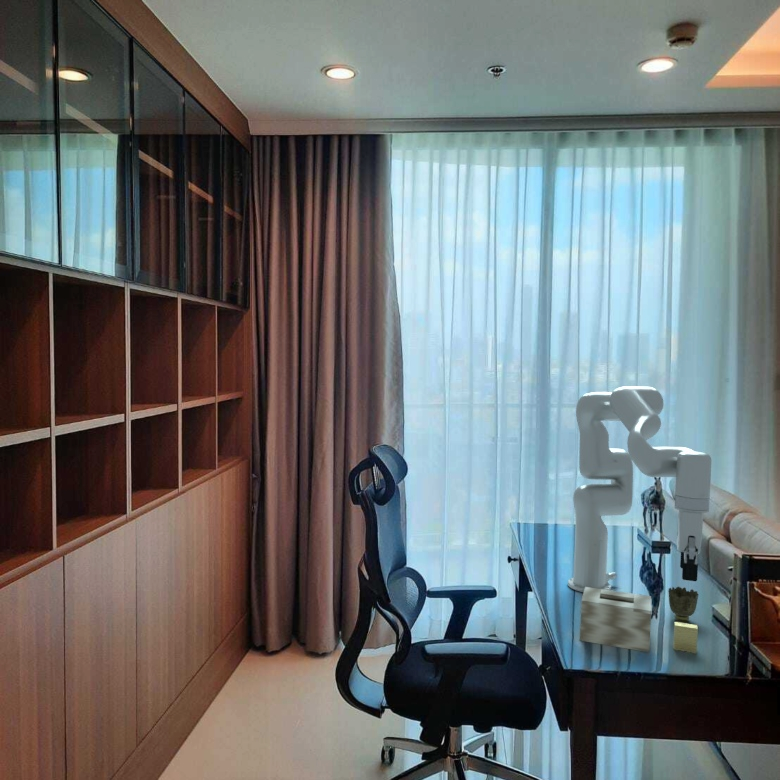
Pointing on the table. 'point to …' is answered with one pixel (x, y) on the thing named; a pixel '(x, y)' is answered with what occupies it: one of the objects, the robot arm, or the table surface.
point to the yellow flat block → (685, 637)
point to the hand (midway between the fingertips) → (688, 574)
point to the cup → (682, 603)
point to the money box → (616, 619)
